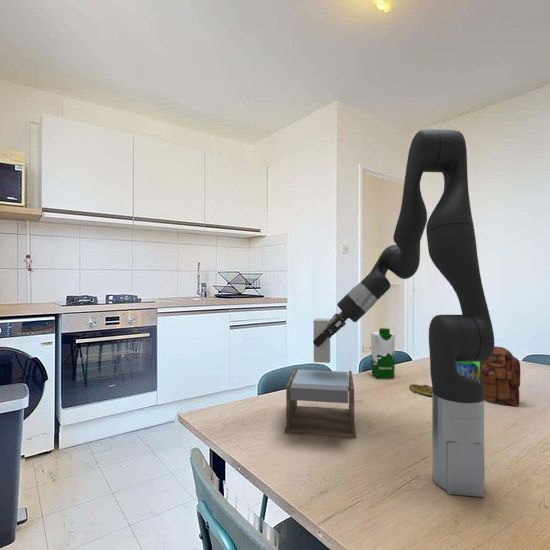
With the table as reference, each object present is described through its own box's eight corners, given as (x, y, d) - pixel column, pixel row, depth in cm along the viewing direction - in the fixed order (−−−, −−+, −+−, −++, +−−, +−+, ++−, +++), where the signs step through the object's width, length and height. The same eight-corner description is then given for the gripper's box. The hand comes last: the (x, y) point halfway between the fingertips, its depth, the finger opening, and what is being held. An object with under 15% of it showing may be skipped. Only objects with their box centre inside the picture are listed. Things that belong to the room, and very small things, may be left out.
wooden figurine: (477, 400, 120) (476, 346, 120) (480, 395, 125) (480, 343, 125) (520, 408, 113) (519, 350, 113) (521, 403, 118) (521, 347, 118)
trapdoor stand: (356, 438, 91) (356, 389, 91) (284, 433, 94) (284, 385, 94) (353, 412, 109) (353, 371, 109) (292, 408, 112) (292, 368, 113)
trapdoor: (350, 403, 86) (350, 390, 86) (288, 399, 89) (288, 387, 89) (347, 378, 108) (347, 368, 108) (297, 376, 111) (297, 366, 111)
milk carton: (375, 379, 144) (375, 329, 145) (369, 373, 154) (369, 326, 154) (397, 379, 145) (397, 329, 145) (389, 373, 154) (389, 326, 154)
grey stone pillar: (329, 362, 103) (329, 320, 103) (313, 362, 103) (313, 320, 103) (330, 358, 108) (330, 318, 108) (314, 358, 108) (314, 318, 108)
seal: (402, 393, 131) (442, 404, 119) (401, 381, 131) (441, 390, 119) (416, 386, 137) (456, 395, 125) (415, 374, 137) (455, 382, 125)
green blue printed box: (444, 378, 147) (444, 353, 147) (469, 378, 147) (469, 353, 147) (465, 390, 131) (465, 362, 131) (493, 390, 131) (493, 362, 131)
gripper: (347, 292, 111) (308, 330, 113) (348, 294, 97) (304, 337, 99) (365, 309, 110) (325, 347, 112) (369, 314, 96) (324, 357, 98)
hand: (315, 342), depth 106 cm, fingers closed on grey stone pillar, 5 cm apart
